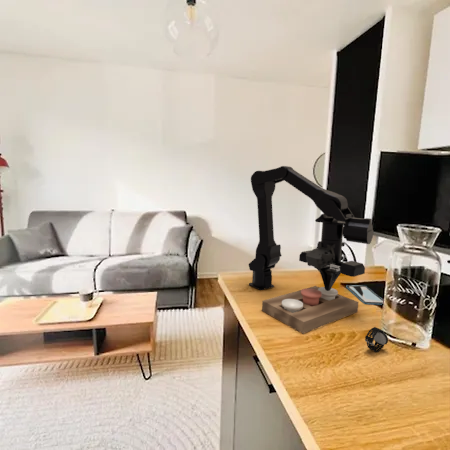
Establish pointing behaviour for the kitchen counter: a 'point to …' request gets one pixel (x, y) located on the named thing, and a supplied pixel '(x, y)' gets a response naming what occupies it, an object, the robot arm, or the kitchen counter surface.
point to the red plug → (311, 296)
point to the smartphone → (365, 294)
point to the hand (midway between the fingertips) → (327, 290)
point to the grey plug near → (292, 305)
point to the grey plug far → (328, 293)
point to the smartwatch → (376, 339)
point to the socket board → (310, 311)
